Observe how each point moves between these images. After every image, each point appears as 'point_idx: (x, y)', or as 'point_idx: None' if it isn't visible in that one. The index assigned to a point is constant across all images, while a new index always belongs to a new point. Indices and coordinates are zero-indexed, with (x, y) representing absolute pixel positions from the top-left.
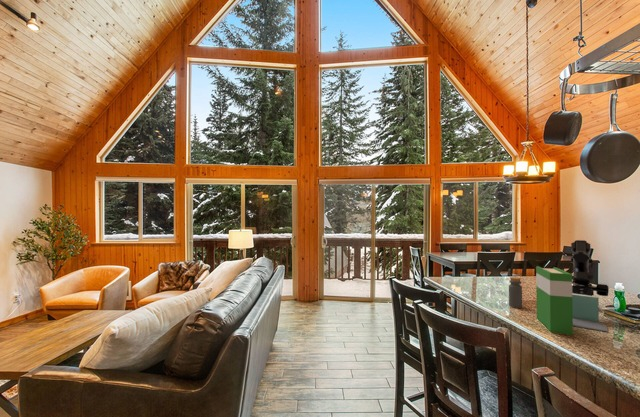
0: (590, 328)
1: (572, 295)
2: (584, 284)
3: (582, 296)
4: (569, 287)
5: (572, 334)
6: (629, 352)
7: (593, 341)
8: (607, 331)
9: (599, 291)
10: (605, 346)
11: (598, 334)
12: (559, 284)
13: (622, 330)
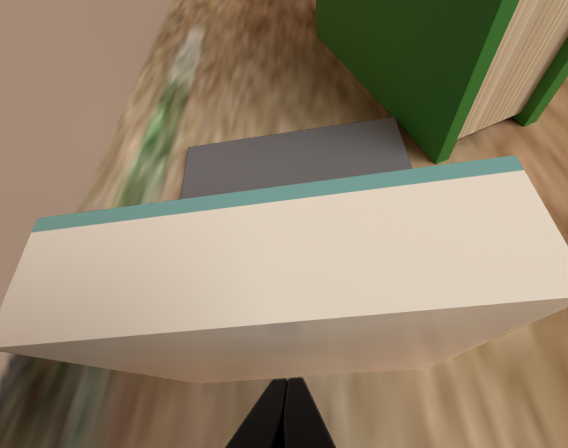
0: (257, 137)
1: (409, 182)
2: None
3: (255, 194)
4: None
5: (318, 32)
6: (172, 22)
7: (254, 29)
8: (189, 148)
9: None
10: (225, 18)
11: (232, 102)
12: None
13: None
